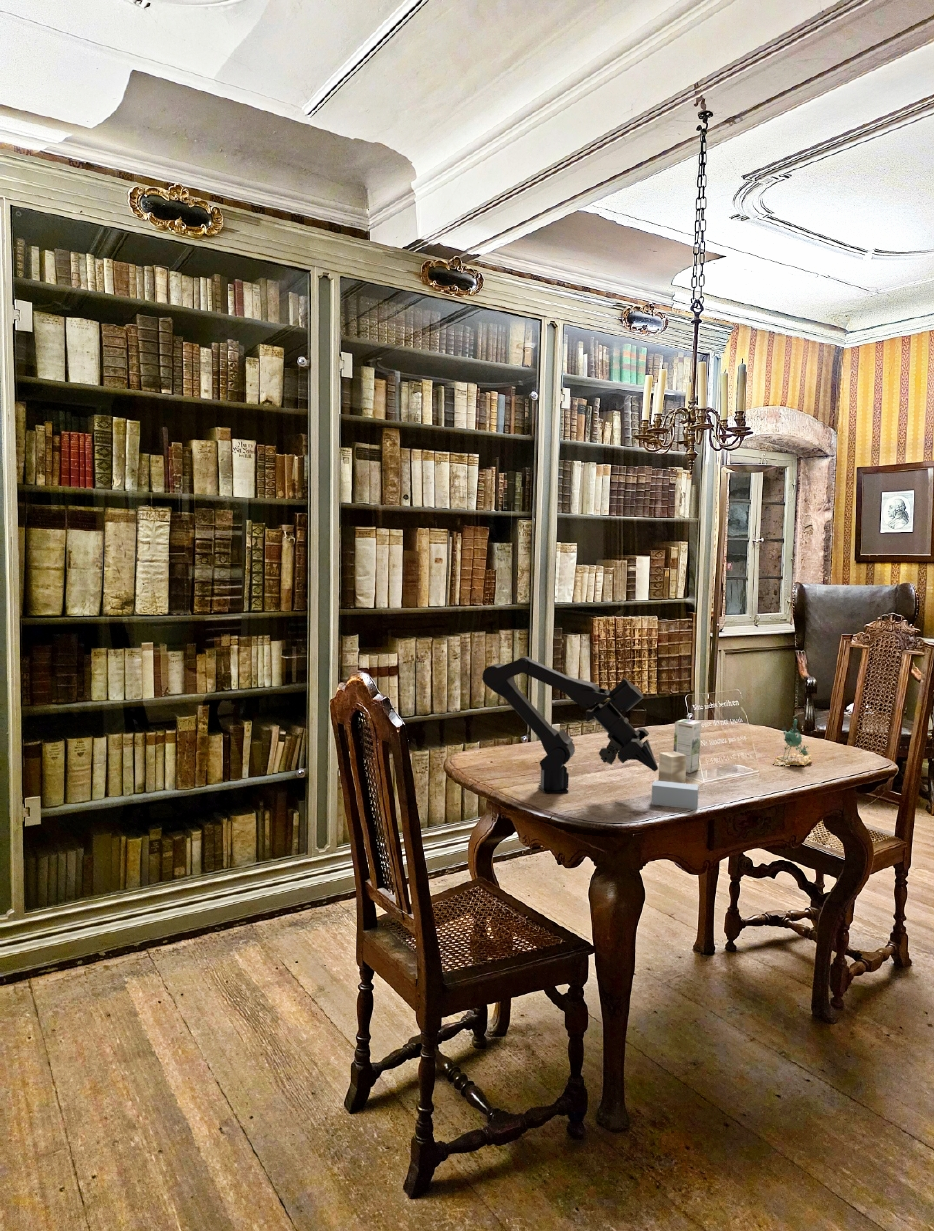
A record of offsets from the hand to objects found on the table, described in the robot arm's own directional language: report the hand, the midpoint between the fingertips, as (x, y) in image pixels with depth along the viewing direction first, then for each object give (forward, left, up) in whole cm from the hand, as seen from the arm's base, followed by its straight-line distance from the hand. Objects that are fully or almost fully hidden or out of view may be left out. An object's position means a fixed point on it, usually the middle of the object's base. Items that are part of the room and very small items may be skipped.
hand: (656, 770), depth 205 cm
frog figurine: (+60, +32, -8) cm, 69 cm away
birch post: (+10, +12, -8) cm, 18 cm away
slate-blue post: (-1, 0, -6) cm, 6 cm away
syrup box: (+22, +28, -8) cm, 37 cm away
